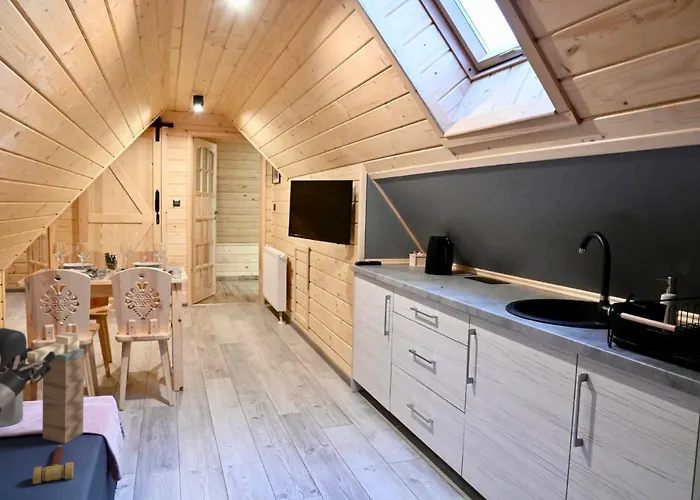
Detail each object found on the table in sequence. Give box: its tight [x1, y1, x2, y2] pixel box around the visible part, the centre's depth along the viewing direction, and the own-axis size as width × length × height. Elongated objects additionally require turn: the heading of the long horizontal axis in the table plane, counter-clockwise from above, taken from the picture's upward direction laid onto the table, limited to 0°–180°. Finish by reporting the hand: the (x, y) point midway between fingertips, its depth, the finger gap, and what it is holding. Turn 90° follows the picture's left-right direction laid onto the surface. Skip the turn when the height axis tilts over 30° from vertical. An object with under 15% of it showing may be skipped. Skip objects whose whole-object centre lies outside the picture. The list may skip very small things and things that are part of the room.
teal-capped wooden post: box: [42, 347, 85, 444], centre depth 173 cm, size 8×9×30 cm
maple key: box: [26, 331, 80, 364], centre depth 166 cm, size 17×5×5 cm, turn 166°
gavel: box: [32, 445, 75, 485], centre depth 157 cm, size 21×5×10 cm
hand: (42, 351), depth 162 cm, fingers open, 8 cm apart
